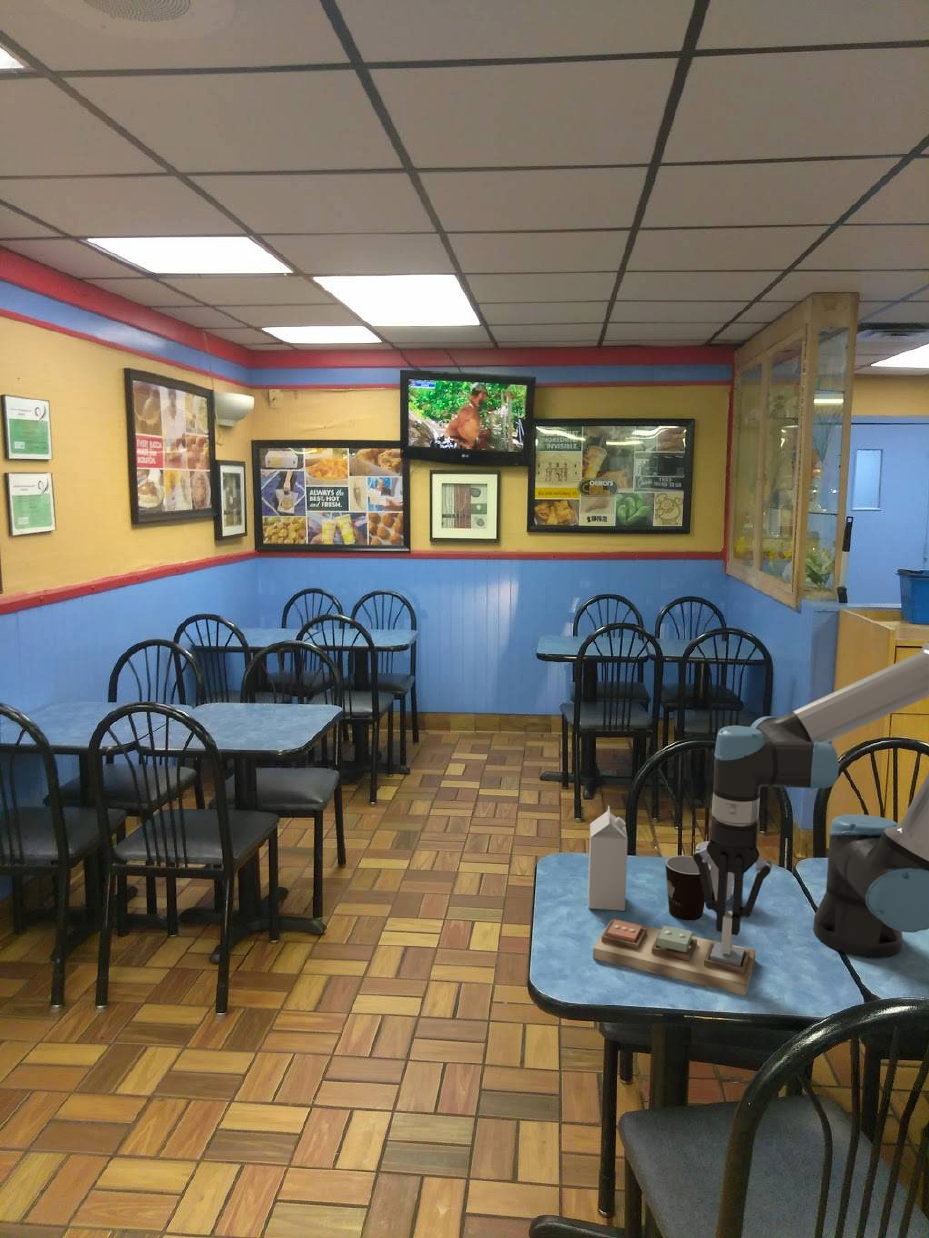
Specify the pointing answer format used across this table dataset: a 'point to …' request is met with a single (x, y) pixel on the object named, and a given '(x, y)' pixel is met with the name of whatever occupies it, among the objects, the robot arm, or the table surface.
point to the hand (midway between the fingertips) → (726, 949)
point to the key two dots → (674, 938)
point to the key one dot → (727, 955)
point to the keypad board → (676, 960)
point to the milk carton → (607, 863)
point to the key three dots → (625, 931)
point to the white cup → (715, 874)
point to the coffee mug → (684, 888)
